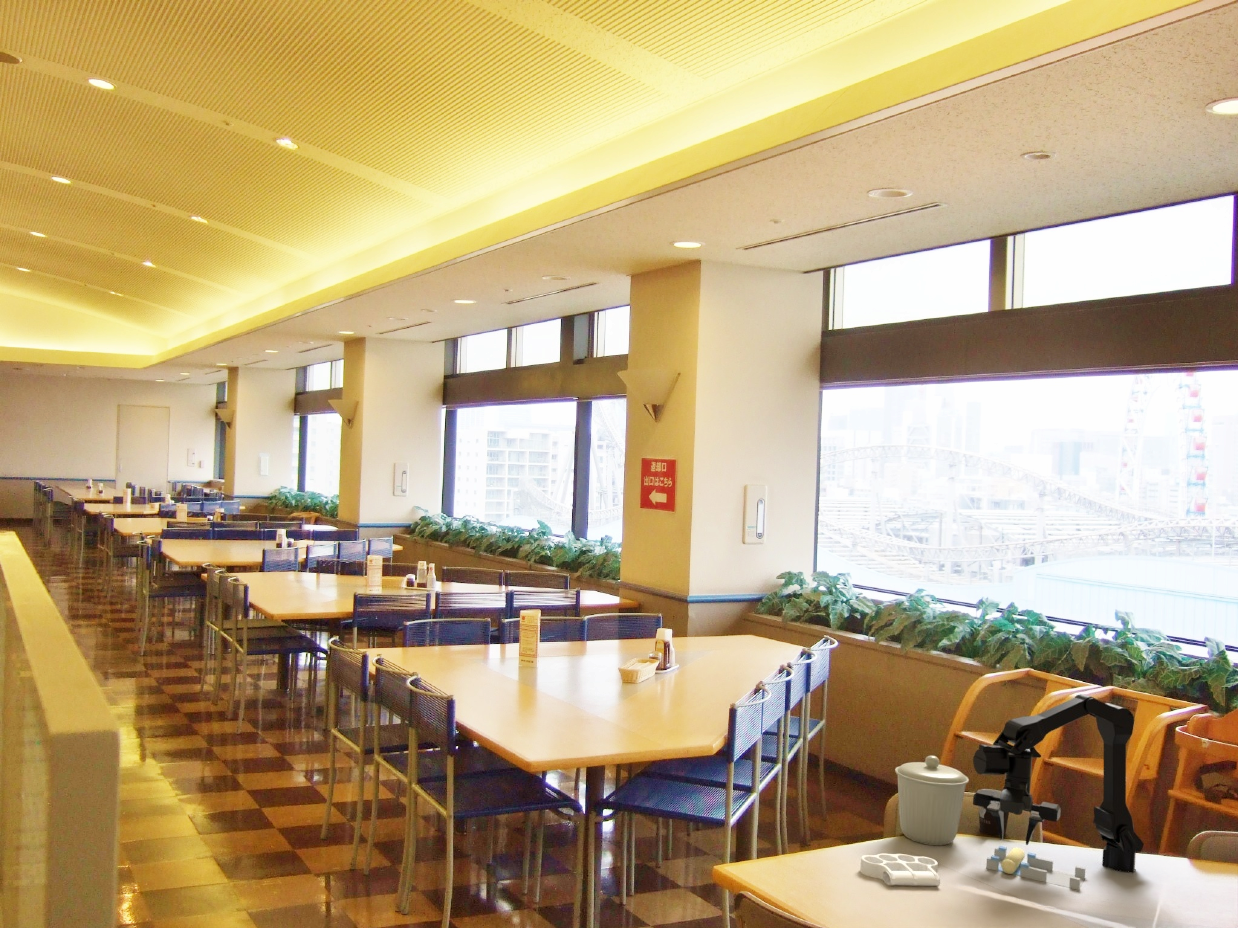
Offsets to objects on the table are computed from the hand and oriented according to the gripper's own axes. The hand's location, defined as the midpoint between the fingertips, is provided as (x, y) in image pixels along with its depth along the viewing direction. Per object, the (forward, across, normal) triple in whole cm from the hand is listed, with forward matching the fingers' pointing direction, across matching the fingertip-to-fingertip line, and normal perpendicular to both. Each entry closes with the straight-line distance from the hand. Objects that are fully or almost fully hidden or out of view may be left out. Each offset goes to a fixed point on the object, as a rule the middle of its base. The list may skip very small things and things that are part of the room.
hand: (1014, 841), depth 244 cm
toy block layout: (+7, +5, 0) cm, 9 cm away
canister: (+7, -22, +10) cm, 26 cm away
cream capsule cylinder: (+6, 0, 0) cm, 6 cm away
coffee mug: (+7, -11, +31) cm, 34 cm away
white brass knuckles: (+8, -20, -22) cm, 30 cm away
